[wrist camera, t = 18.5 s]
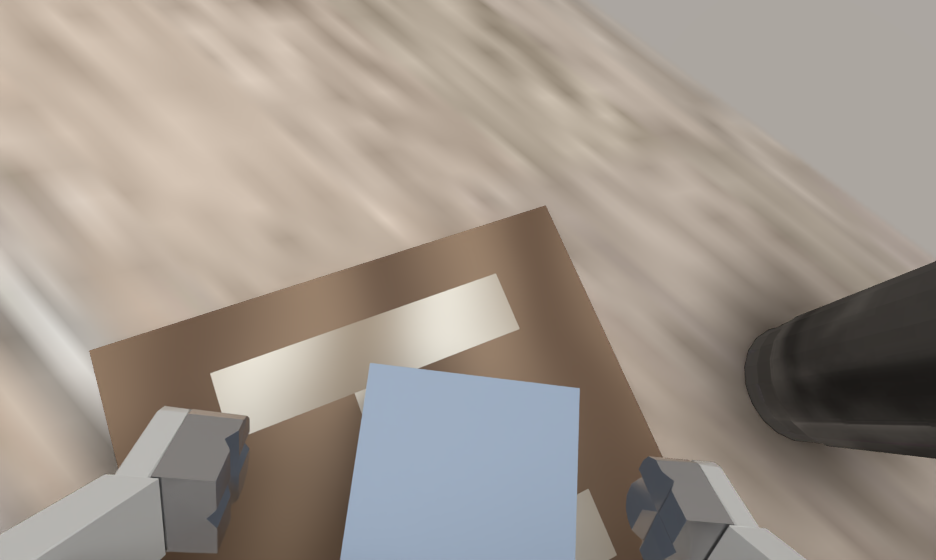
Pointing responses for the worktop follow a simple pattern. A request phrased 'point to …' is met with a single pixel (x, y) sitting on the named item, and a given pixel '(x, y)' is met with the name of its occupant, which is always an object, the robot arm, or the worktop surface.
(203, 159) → the worktop surface
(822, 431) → the beverage cup
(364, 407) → the slate block
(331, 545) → the board
